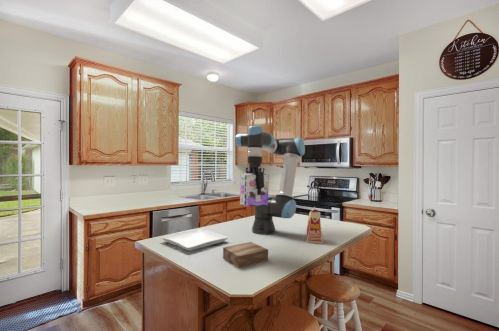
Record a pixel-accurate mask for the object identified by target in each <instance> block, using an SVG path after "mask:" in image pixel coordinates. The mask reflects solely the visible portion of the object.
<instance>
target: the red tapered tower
mask: <svg viewBox="0 0 499 331" xmlns="http://www.w3.org/2000/svg"><path fill="white" fill-rule="evenodd" d="M305 238H306V243H315V244H324V241H323V233H322V224H321V211H319V210H318V209H316V206H314V207H313V209H312V210H310V211H309V213H308V218H307V227H306V237H305Z"/></svg>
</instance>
